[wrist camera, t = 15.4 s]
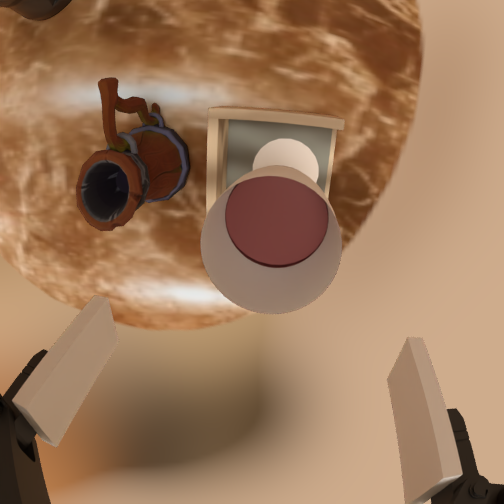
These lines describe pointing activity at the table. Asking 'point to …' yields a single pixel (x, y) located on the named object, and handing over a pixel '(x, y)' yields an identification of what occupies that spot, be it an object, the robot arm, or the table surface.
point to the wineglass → (273, 233)
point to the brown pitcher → (130, 163)
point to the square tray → (263, 142)
